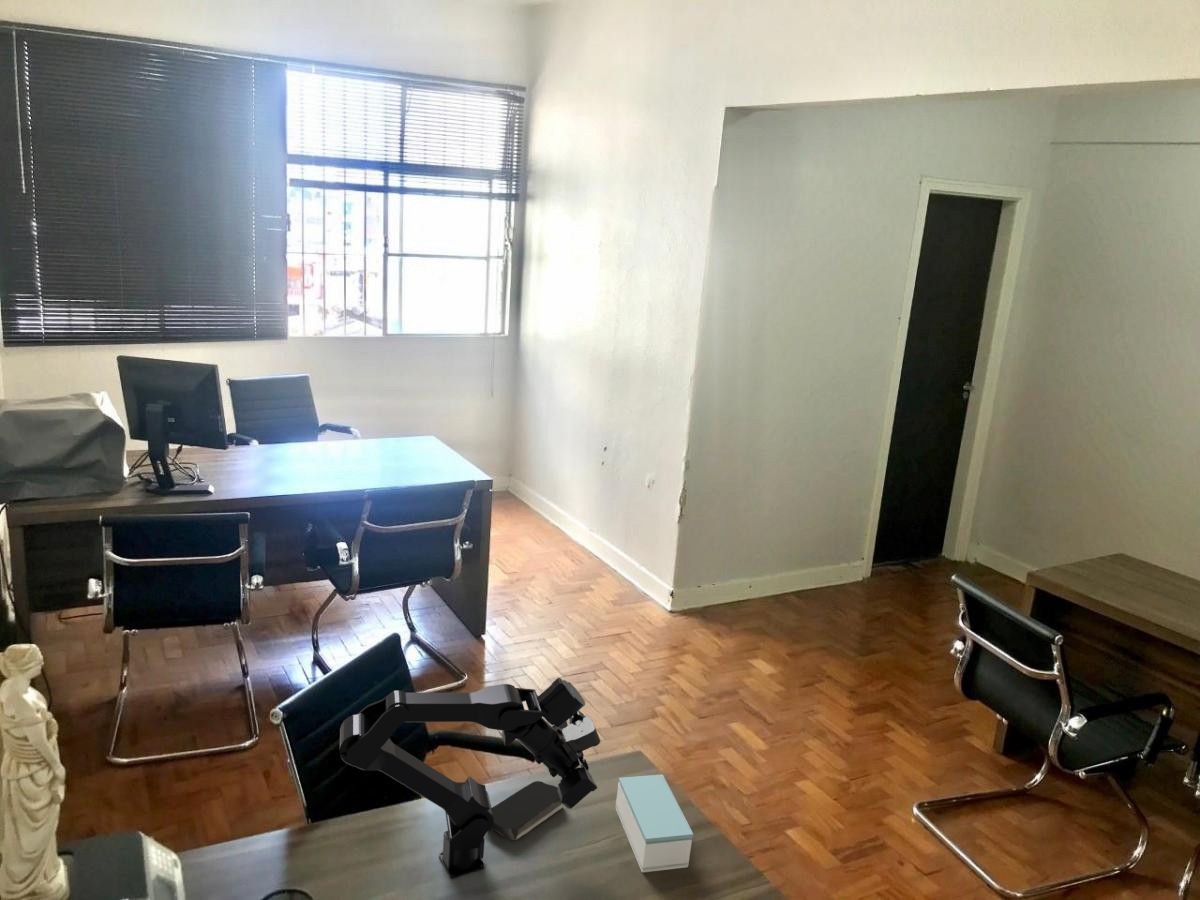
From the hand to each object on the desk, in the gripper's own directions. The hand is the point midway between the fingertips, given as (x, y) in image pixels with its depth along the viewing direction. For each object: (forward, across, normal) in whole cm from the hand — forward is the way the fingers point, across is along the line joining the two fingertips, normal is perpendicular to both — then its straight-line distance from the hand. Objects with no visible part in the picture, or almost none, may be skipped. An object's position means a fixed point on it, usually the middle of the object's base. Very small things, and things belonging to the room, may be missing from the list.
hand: (595, 788), depth 164 cm
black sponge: (+3, +10, +17) cm, 20 cm away
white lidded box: (+18, +1, 0) cm, 18 cm away
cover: (+14, +1, -4) cm, 15 cm away
